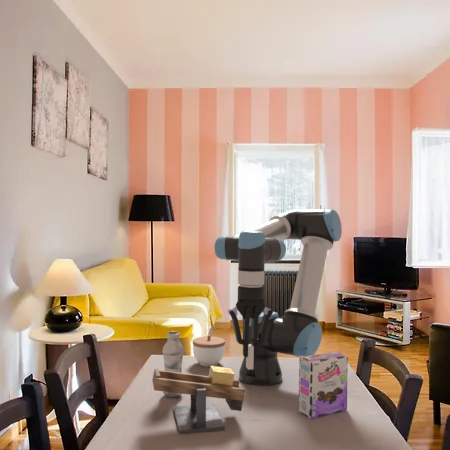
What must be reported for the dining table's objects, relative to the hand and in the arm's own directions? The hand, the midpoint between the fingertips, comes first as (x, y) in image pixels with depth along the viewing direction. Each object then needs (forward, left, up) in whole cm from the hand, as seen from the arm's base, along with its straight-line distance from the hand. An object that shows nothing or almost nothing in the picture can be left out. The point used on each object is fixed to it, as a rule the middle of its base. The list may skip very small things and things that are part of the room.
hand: (249, 367), depth 136 cm
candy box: (-22, +1, -14) cm, 26 cm away
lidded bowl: (+3, -50, -14) cm, 52 cm away
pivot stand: (+15, 0, -14) cm, 20 cm away
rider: (+9, 0, -5) cm, 10 cm away
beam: (+15, 0, -9) cm, 18 cm away
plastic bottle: (+20, -19, -14) cm, 31 cm away
